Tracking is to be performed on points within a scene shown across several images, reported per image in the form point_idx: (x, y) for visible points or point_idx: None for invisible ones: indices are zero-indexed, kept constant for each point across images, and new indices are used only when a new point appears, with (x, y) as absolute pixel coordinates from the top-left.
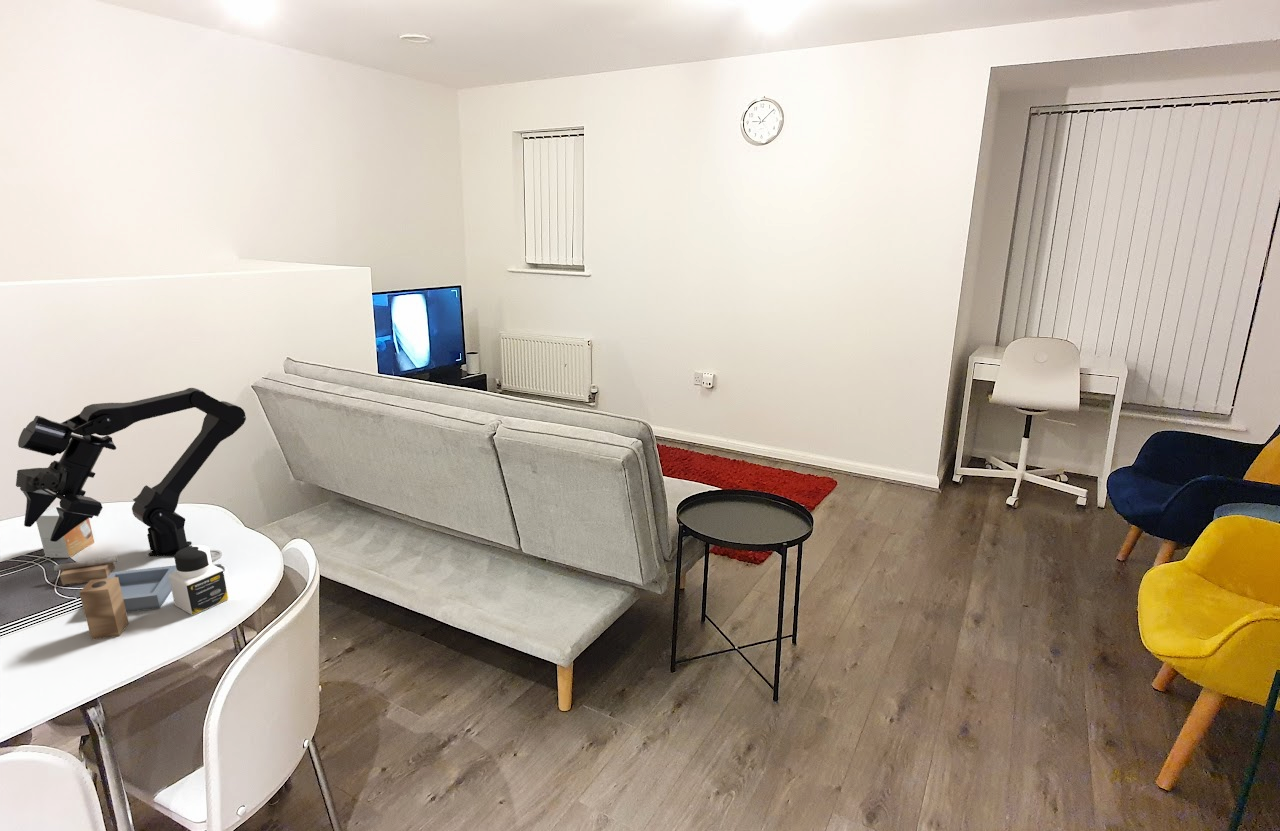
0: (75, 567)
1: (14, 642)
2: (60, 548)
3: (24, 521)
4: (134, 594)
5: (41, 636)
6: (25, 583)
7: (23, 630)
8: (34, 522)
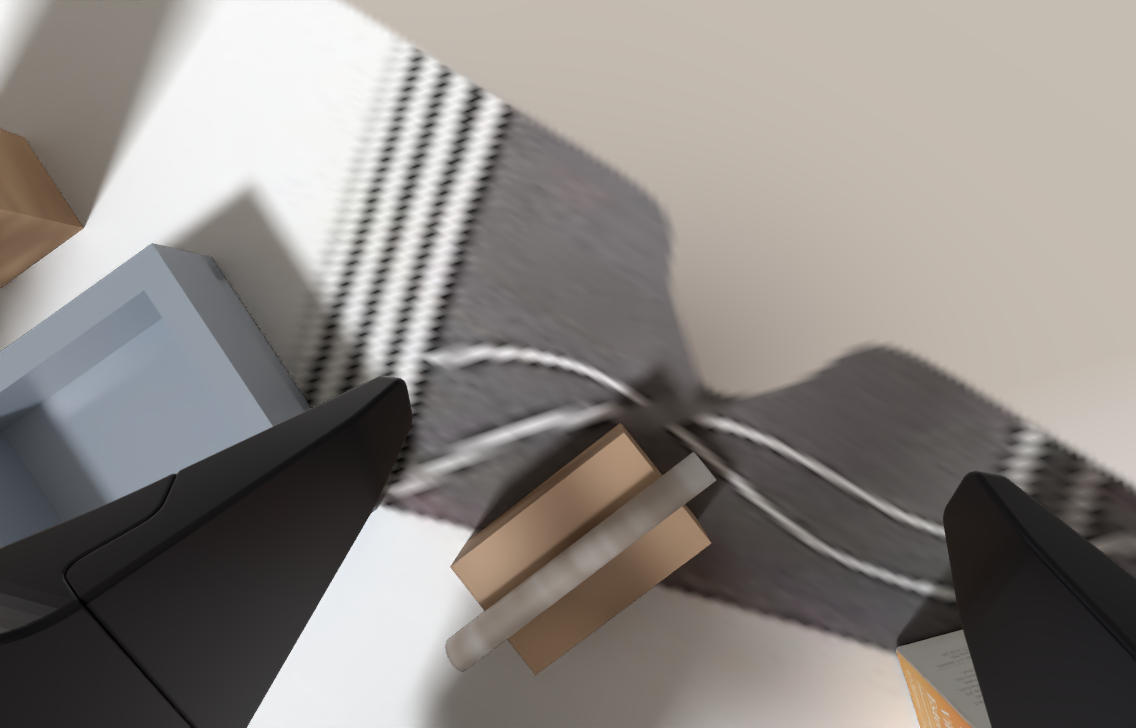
0: (610, 516)
1: (315, 2)
2: (970, 672)
3: (1050, 512)
4: (162, 459)
5: (252, 77)
6: (833, 376)
7: (378, 80)
8: (956, 586)
